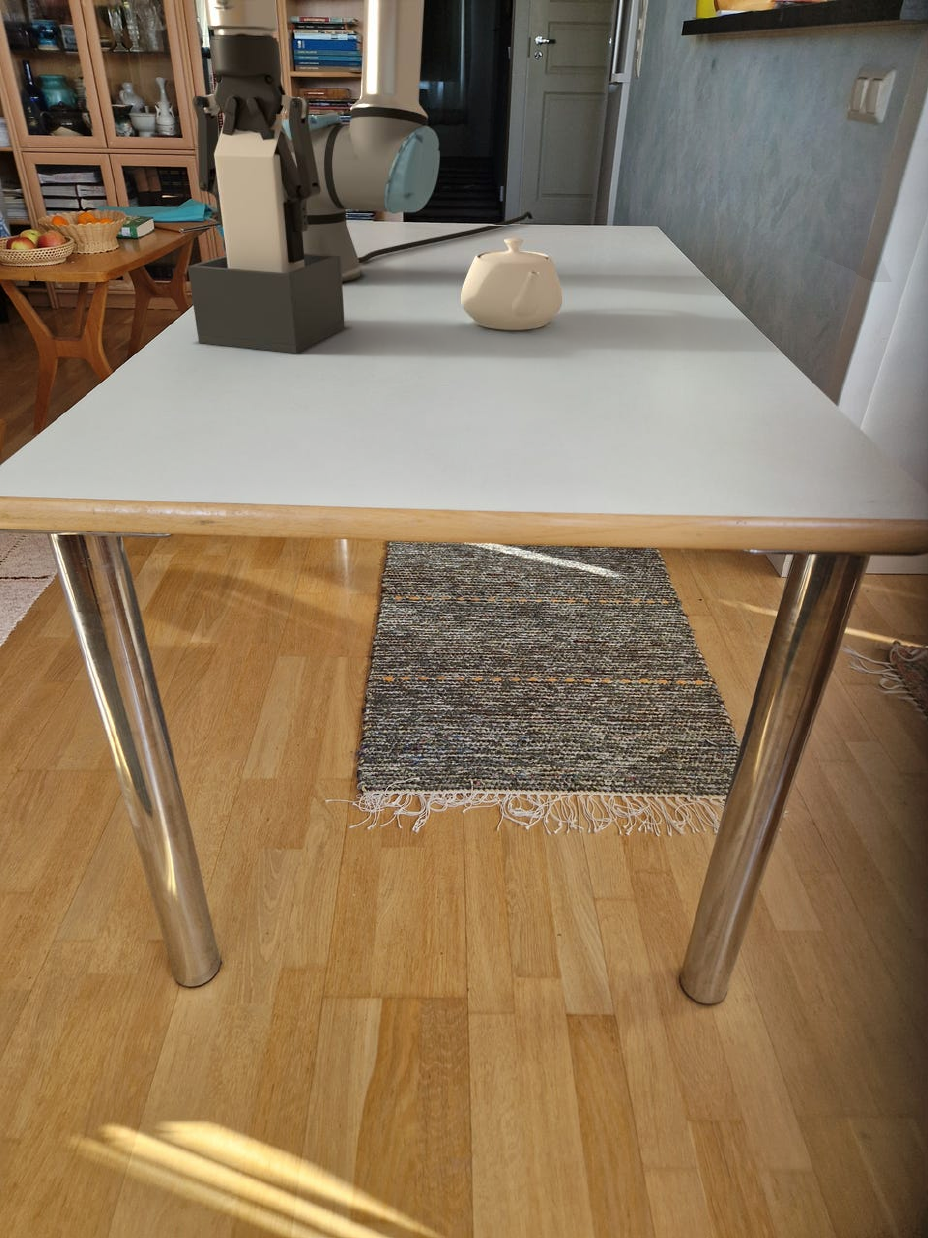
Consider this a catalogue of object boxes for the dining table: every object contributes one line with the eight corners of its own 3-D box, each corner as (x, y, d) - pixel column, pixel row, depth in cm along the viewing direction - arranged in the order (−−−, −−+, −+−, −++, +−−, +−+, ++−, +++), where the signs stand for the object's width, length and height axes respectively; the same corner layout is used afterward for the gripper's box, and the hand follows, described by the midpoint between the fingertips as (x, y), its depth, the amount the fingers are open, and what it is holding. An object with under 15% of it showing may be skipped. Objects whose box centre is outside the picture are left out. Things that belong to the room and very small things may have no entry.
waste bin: (254, 319, 118) (246, 248, 113) (345, 327, 115) (340, 255, 110) (198, 343, 107) (187, 266, 102) (296, 353, 104) (289, 274, 99)
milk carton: (285, 296, 104) (269, 114, 94) (230, 293, 105) (208, 113, 95) (306, 285, 110) (292, 113, 100) (254, 281, 111) (235, 111, 101)
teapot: (447, 307, 125) (447, 227, 120) (538, 304, 128) (542, 225, 122) (480, 347, 107) (482, 254, 101) (585, 342, 110) (593, 251, 104)
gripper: (142, 32, 93) (177, 257, 106) (312, 32, 88) (328, 269, 100) (182, 35, 99) (211, 248, 112) (343, 35, 94) (355, 259, 106)
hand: (266, 258), depth 106 cm, fingers closed on milk carton, 7 cm apart
